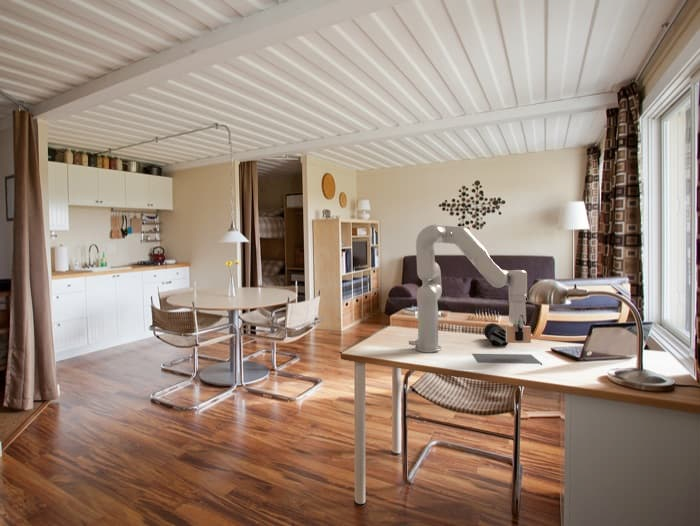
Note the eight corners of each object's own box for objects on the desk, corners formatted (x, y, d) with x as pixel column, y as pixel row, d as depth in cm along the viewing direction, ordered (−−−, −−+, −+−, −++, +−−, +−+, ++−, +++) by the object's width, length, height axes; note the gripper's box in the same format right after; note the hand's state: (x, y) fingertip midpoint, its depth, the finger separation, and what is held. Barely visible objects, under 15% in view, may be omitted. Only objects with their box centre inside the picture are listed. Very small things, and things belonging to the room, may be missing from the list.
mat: (477, 363, 173) (477, 362, 173) (471, 354, 187) (471, 353, 187) (542, 364, 170) (542, 363, 170) (531, 355, 184) (531, 354, 184)
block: (507, 342, 180) (507, 327, 179) (505, 341, 182) (505, 326, 181) (530, 343, 178) (530, 327, 178) (529, 341, 181) (529, 326, 180)
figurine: (513, 335, 197) (503, 326, 217) (496, 326, 198) (487, 318, 217) (504, 351, 198) (494, 342, 218) (487, 342, 199) (479, 333, 218)
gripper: (504, 296, 188) (504, 335, 188) (514, 300, 172) (514, 344, 173) (521, 295, 187) (521, 335, 188) (532, 300, 171) (533, 344, 172)
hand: (518, 339), depth 180 cm, fingers closed on block, 2 cm apart
